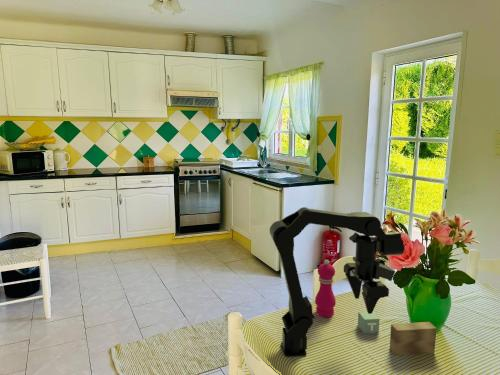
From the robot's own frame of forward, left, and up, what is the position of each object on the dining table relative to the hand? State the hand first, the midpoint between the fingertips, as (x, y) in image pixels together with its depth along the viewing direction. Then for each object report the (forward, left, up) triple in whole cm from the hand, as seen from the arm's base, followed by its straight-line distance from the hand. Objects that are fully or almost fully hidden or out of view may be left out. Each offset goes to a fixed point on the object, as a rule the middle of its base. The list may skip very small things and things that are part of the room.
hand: (363, 305), depth 105 cm
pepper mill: (-5, +20, -13) cm, 24 cm away
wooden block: (+14, -4, -13) cm, 20 cm away
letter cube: (+6, +9, -13) cm, 17 cm away
